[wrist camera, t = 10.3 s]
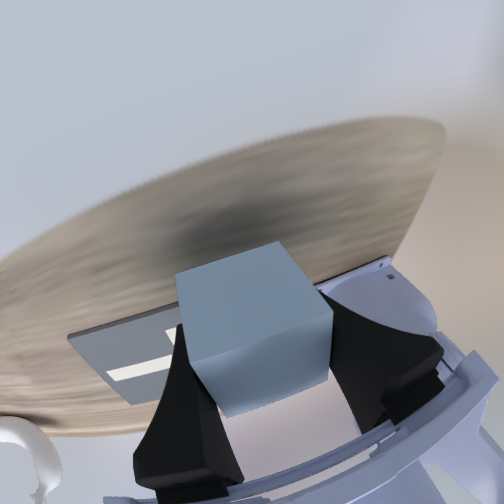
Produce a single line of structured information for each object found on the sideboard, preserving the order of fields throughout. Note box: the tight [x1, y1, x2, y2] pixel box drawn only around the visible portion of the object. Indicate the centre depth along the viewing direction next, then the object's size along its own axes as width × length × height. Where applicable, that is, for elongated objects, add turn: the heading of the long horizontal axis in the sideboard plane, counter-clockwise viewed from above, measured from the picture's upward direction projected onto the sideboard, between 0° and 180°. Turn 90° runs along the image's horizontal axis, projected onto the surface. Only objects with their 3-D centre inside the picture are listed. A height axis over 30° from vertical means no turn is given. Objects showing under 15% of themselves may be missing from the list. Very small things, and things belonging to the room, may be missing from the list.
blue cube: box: [175, 241, 333, 418], centre depth 12 cm, size 5×5×5 cm
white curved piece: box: [0, 416, 62, 504], centre depth 16 cm, size 5×19×15 cm, turn 93°
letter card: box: [67, 302, 182, 405], centre depth 23 cm, size 12×12×1 cm
